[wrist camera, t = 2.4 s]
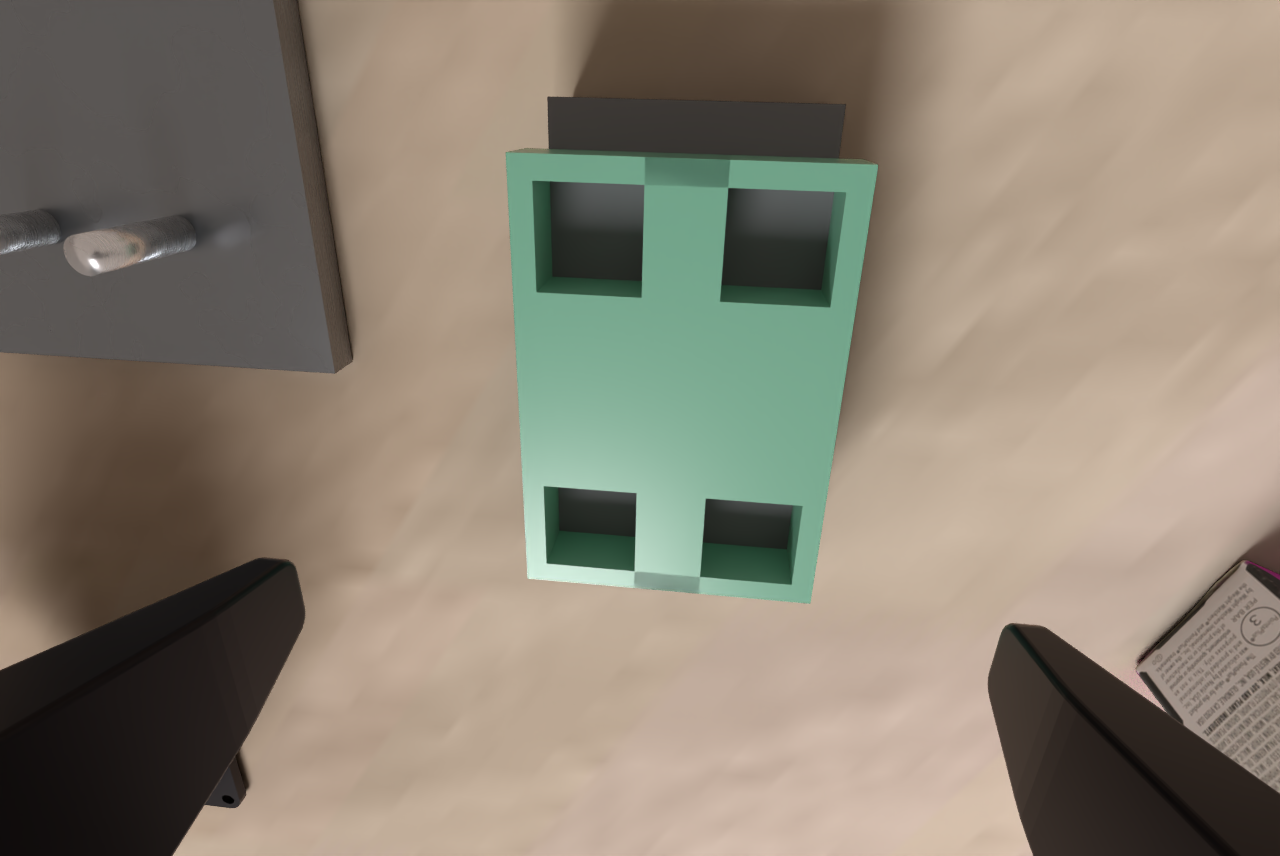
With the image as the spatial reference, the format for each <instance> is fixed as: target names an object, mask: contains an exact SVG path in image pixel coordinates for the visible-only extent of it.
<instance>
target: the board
mask: <svg viewBox="0 0 1280 856" xmlns="http://www.w3.org/2000/svg"><path fill="white" fill-rule="evenodd" d="M506 168H507V187H508V207H509V226H510V246H511V265H512V285H513V304H514V324H515V343H516V362H517V382H518V401H519V421H520V440H521V460H522V479H523V499H524V518H525V537H526V557H527V576H528V579H539V580H551V581H562V582H573V583H584V584H596V585H607V586H618V587H629V588H641V589H652V590H663V591H674V592H686V593H697V594H708V595H719V596H731V597H742V598H753V599H764V600H776V601H787V602H798V603H809V604H810V602H811V595H812V589H813V582H814V576H815V570H816V563H817V557H818V550H819V544H820V537H821V531H822V524H823V518H824V512H825V505H826V499H827V492H828V486H829V479H830V473H831V466H832V460H833V454H834V447H835V441H836V434H837V428H838V421H839V415H840V408H841V402H842V395H843V389H844V383H845V376H846V370H847V363H848V357H849V350H850V344H851V337H852V331H853V325H854V318H855V312H856V305H857V299H858V292H859V286H860V279H861V273H862V267H863V260H864V254H865V247H866V241H867V234H868V228H869V221H870V215H871V208H872V202H873V196H874V189H875V183H876V176H877V170H878V164H875V163H872V162H870V161H867V160H864V159H840V158H809V157H779V156H748V155H718V154H687V153H657V152H626V151H596V150H565V149H535V148H524V149H519V150H515V151H510V152H506ZM550 181H554V182H581V183H608V184H635V185H644V224H643V264H642V281H630V280H609V279H589V278H569V277H552V243H551V206H550ZM728 188H744V189H771V190H798V191H825V192H834V197H833V205H832V213H831V220H830V228H829V235H828V243H827V250H826V258H825V265H824V273H823V280H822V288H821V290H812V289H792V288H771V287H751V286H731V285H721V281H722V268H723V254H724V240H725V226H726V213H727V199H728ZM558 487H562V488H575V489H588V490H601V491H615V492H628V493H637V498H636V537H629V536H617V535H605V534H593V533H580V532H568V531H559V497H558ZM706 499H719V500H732V501H745V502H758V503H771V504H784V505H793V507H792V514H791V522H790V529H789V537H788V544H787V549H775V548H763V547H750V546H738V545H726V544H714V543H703V529H704V515H705V501H706Z"/></svg>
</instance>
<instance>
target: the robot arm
mask: <svg viewBox="0 0 1280 856" xmlns="http://www.w3.org/2000/svg"><path fill="white" fill-rule="evenodd" d="M304 620H305V606H304V602H303V597H302V592H301V588H300V583H299V578H298V574H297V570H296V567H295V565H294V564H293V563H292V562H291V561H289V560H286V559H275V558H258V559H255V560H253V561H250V562H248V563H246V564H243V565H241V566H239V567H236V568H234V569H232V570H230V571H227V572H225V573H223V574H220V575H218V576H216V577H213V578H211V579H209V580H207V581H204V582H202V583H200V584H197V585H195V586H193V587H190V588H188V589H186V590H184V591H181V592H179V593H177V594H174V595H172V596H170V597H167V598H165V599H163V600H161V601H158V602H156V603H154V604H151V605H149V606H147V607H144V608H142V609H140V610H138V611H135V612H133V613H131V614H128V615H126V616H124V617H121V618H119V619H117V620H115V621H112V622H110V623H108V624H105V625H103V626H101V627H98V628H96V629H94V630H92V631H89V632H87V633H85V634H82V635H80V636H78V637H76V638H73V639H71V640H69V641H66V642H64V643H62V644H59V645H57V646H55V647H53V648H50V649H48V650H46V651H43V652H41V653H39V654H36V655H34V656H32V657H30V658H27V659H25V660H23V661H20V662H18V663H16V664H13V665H11V666H9V667H7V668H4V669H2V670H0V856H173V854H174V853H175V851H176V849H177V848H178V846H179V845H180V843H181V841H182V840H183V838H184V837H185V835H186V833H187V832H188V830H189V829H190V827H191V826H192V824H193V822H194V821H195V819H196V818H197V816H198V814H199V813H200V811H201V810H202V808H203V807H204V805H210V806H218V807H226V808H236V807H238V806H239V805H240V803H241V802H242V801H243V799H244V798H245V796H246V790H245V787H244V784H243V780H242V777H241V774H240V770H239V767H238V764H237V761H236V757H235V756H236V754H237V753H238V751H239V749H240V748H241V746H242V744H243V743H244V741H245V739H246V738H247V736H248V734H249V733H250V731H251V729H252V727H253V725H254V723H255V721H256V720H257V718H258V716H259V714H260V712H261V710H262V708H263V706H264V704H265V702H266V700H267V698H268V696H269V694H270V692H271V690H272V688H273V686H274V684H275V682H276V680H277V678H278V676H279V674H280V672H281V670H282V668H283V666H284V664H285V662H286V660H287V658H288V656H289V654H290V652H291V650H292V648H293V646H294V644H295V642H296V640H297V638H298V636H299V634H300V632H301V630H302V627H303V624H304ZM988 693H989V698H990V702H991V706H992V710H993V714H994V718H995V722H996V726H997V730H998V734H999V738H1000V742H1001V746H1002V750H1003V754H1004V758H1005V762H1006V766H1007V770H1008V774H1009V778H1010V782H1011V786H1012V790H1013V794H1014V798H1015V801H1016V805H1017V808H1018V812H1019V816H1020V819H1021V822H1022V825H1023V828H1024V831H1025V834H1026V837H1027V840H1028V842H1029V845H1030V848H1031V851H1032V853H1033V856H1280V793H1279V792H1277V791H1276V790H1274V789H1273V788H1272V787H1270V786H1269V785H1267V784H1266V783H1265V782H1263V781H1262V780H1260V779H1259V778H1258V777H1256V776H1255V775H1253V774H1252V773H1250V772H1249V771H1248V770H1246V769H1245V768H1243V767H1242V766H1241V765H1239V764H1238V763H1236V762H1235V761H1234V760H1232V759H1231V758H1229V757H1228V756H1226V755H1225V754H1224V753H1222V752H1221V751H1219V750H1218V749H1217V748H1215V747H1214V746H1212V745H1211V744H1210V743H1208V742H1207V741H1205V740H1204V739H1202V738H1201V737H1200V736H1198V735H1197V734H1195V733H1194V732H1193V731H1191V730H1190V729H1188V728H1187V727H1186V726H1184V725H1183V724H1181V723H1180V722H1178V721H1177V720H1176V719H1174V718H1173V717H1171V716H1170V715H1169V714H1167V713H1166V712H1164V711H1163V710H1162V709H1160V708H1159V707H1157V706H1156V705H1155V704H1153V703H1152V702H1150V701H1149V700H1147V699H1146V698H1145V697H1143V696H1142V695H1140V694H1139V693H1138V692H1136V691H1135V690H1133V689H1132V688H1131V687H1129V686H1128V685H1126V684H1125V683H1123V682H1122V681H1121V680H1119V679H1118V678H1116V677H1115V676H1114V675H1112V674H1111V673H1109V672H1108V671H1107V670H1105V669H1104V668H1102V667H1101V666H1099V665H1098V664H1097V663H1095V662H1094V661H1092V660H1091V659H1090V658H1088V657H1087V656H1085V655H1084V654H1083V653H1081V652H1080V651H1078V650H1077V649H1075V648H1074V647H1073V646H1071V645H1070V644H1068V643H1067V642H1066V641H1064V640H1063V639H1061V638H1060V637H1059V636H1057V635H1056V634H1054V633H1053V632H1052V631H1050V630H1049V629H1047V628H1045V627H1043V626H1039V625H1028V624H1017V623H1010V624H1008V625H1006V626H1005V627H1004V629H1003V630H1002V632H1001V635H1000V638H999V641H998V645H997V648H996V651H995V655H994V658H993V661H992V665H991V668H990V671H989V676H988Z"/></svg>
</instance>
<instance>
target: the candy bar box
mask: <svg viewBox="0 0 1280 856" xmlns="http://www.w3.org/2000/svg"><path fill="white" fill-rule="evenodd" d="M1136 672H1137V674H1138V675H1139V676H1140V677H1141V679H1142V680H1143V681H1144V683H1145V684H1146V685H1147V687H1148V688H1149V689H1150V691H1151V692H1152V693H1153V695H1154V696H1155V698H1156V699H1157V700H1158V701H1159V703H1160V704H1161V705H1162V707H1163V708H1164V710H1165V711H1166V713H1167V714H1169V715H1170V716H1171V717H1173V718H1174V719H1176V720H1177V721H1178V722H1180V723H1181V724H1183V725H1184V726H1186V727H1187V728H1188V729H1190V730H1191V731H1193V732H1194V733H1195V734H1197V735H1198V736H1200V737H1201V738H1202V739H1204V740H1205V741H1207V742H1208V743H1210V744H1211V745H1212V746H1214V747H1215V748H1217V749H1218V750H1219V751H1221V752H1222V753H1224V754H1225V755H1226V756H1228V757H1229V758H1231V759H1232V760H1234V761H1235V762H1236V763H1238V764H1239V765H1241V766H1242V767H1243V768H1245V769H1246V770H1248V771H1249V772H1250V773H1252V774H1253V775H1255V776H1256V777H1258V778H1259V779H1260V780H1262V781H1263V782H1265V783H1266V784H1267V785H1269V786H1270V787H1272V788H1273V789H1274V790H1276V791H1277V792H1279V793H1280V574H1277V573H1275V572H1273V571H1271V570H1268V569H1266V568H1264V567H1261V566H1259V565H1257V564H1255V563H1252V562H1250V561H1248V560H1242V561H1241V562H1240V563H1238V564H1237V565H1236V566H1235V567H1233V568H1232V569H1231V570H1230V571H1228V572H1227V573H1226V574H1225V575H1224V576H1223V577H1222V578H1221V579H1220V580H1218V581H1217V582H1216V583H1215V584H1214V586H1212V587H1211V588H1210V589H1209V591H1208V592H1207V593H1206V594H1205V596H1204V597H1203V598H1202V599H1201V601H1200V602H1199V603H1198V604H1197V605H1196V606H1195V607H1194V608H1193V609H1192V610H1191V611H1190V613H1189V614H1188V615H1187V616H1186V617H1185V618H1184V619H1183V620H1182V621H1181V623H1179V624H1178V625H1177V626H1176V627H1175V628H1174V629H1173V630H1172V631H1171V632H1170V633H1169V634H1168V635H1167V636H1166V637H1165V638H1164V639H1163V640H1162V641H1161V642H1159V643H1158V644H1157V645H1156V646H1155V647H1154V648H1153V650H1152V651H1151V652H1150V653H1149V654H1148V655H1147V656H1146V657H1145V658H1144V659H1143V660H1142V661H1141V662H1140V663H1139V664H1138V665H1137V667H1136Z"/></svg>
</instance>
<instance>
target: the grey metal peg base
mask: <svg viewBox="0 0 1280 856" xmlns="http://www.w3.org/2000/svg"><path fill="white" fill-rule="evenodd" d="M0 352H6V353H22V354H37V355H53V356H69V357H84V358H100V359H116V360H131V361H147V362H163V363H178V364H194V365H210V366H225V367H241V368H257V369H273V370H288V371H304V372H320V373H336V372H338V371H339V370H341V369H342V368H344V367H345V366H347V365H348V364H350V363H351V362H352V356H351V349H350V343H349V336H348V330H347V323H346V317H345V310H344V304H343V297H342V291H341V284H340V278H339V271H338V265H337V258H336V252H335V245H334V239H333V232H332V226H331V219H330V213H329V206H328V200H327V193H326V187H325V180H324V174H323V167H322V161H321V154H320V148H319V141H318V135H317V128H316V122H315V115H314V109H313V102H312V96H311V89H310V83H309V76H308V70H307V63H306V57H305V50H304V44H303V37H302V31H301V24H300V17H299V11H298V4H297V0H0Z"/></svg>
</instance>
